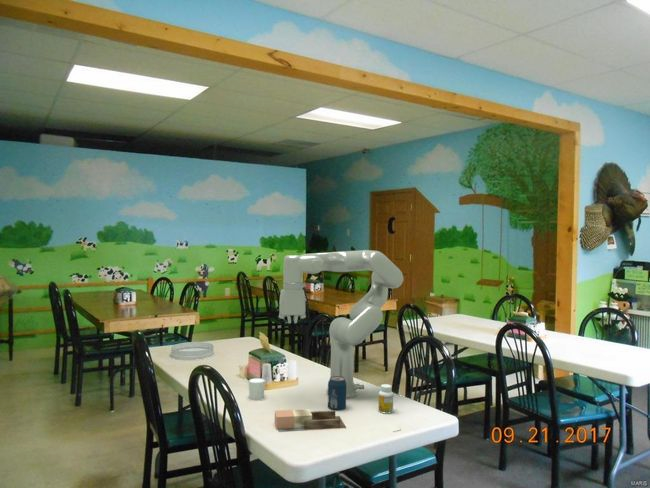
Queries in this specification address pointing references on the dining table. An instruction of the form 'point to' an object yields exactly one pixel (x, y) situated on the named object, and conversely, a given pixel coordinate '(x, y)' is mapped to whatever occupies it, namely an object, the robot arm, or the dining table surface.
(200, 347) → the dish
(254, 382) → the shot glass
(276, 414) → the terracotta block
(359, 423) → the dining table surface
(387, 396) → the supplement bottle
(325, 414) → the chute
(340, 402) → the soda can
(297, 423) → the beech block
